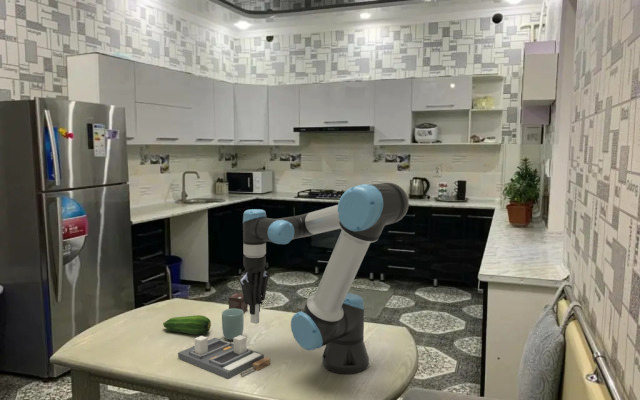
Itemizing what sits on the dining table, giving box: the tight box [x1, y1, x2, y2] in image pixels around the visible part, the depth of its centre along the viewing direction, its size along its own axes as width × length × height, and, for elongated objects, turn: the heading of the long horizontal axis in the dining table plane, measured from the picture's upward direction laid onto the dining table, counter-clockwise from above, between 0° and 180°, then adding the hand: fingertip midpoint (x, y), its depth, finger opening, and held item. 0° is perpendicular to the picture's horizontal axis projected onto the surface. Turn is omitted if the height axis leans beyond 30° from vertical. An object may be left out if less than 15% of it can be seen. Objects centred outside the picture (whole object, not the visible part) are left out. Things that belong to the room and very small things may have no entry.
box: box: [228, 292, 249, 314], centre depth 207 cm, size 6×6×7 cm
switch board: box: [177, 337, 265, 380], centre depth 161 cm, size 24×16×3 cm, turn 54°
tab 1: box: [193, 335, 209, 355], centre depth 160 cm, size 3×3×5 cm
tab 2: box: [233, 335, 248, 355], centre depth 161 cm, size 3×3×5 cm
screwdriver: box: [239, 356, 271, 377], centre depth 153 cm, size 12×2×2 cm, turn 143°
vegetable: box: [162, 314, 212, 336], centre depth 184 cm, size 7×7×20 cm
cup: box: [221, 308, 245, 341], centre depth 179 cm, size 8×8×10 cm
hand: (254, 322), depth 167 cm, fingers closed
